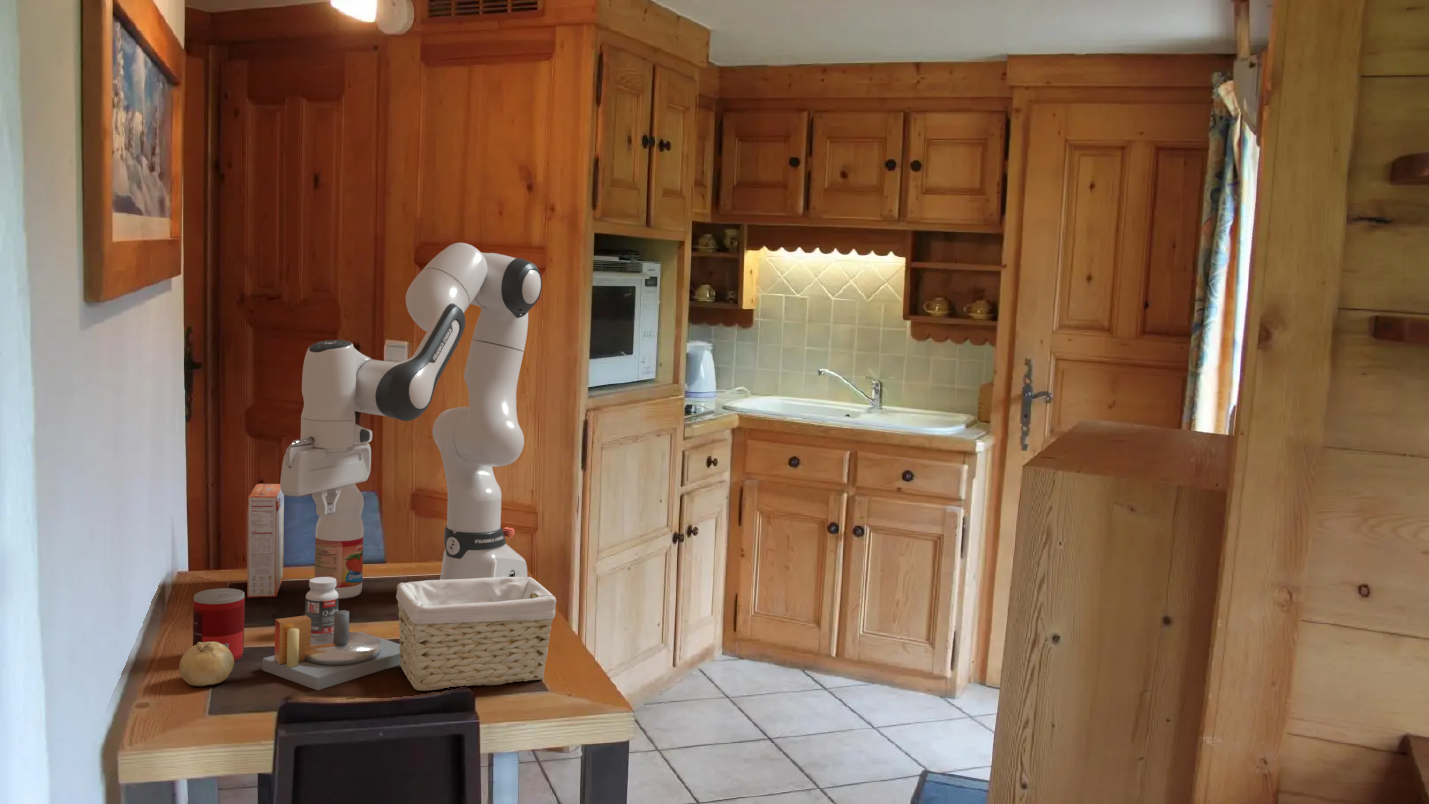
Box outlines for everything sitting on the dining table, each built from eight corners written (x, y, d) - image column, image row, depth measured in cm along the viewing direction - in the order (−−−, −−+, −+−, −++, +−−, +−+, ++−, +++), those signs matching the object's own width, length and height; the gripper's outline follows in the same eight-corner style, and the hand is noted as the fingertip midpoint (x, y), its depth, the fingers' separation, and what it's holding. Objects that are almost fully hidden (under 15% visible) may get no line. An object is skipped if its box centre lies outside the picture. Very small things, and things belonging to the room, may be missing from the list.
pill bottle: (326, 639, 203) (328, 585, 202) (298, 635, 204) (299, 581, 203) (343, 630, 208) (344, 577, 208) (315, 626, 210) (316, 574, 209)
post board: (360, 642, 202) (361, 593, 201) (414, 660, 194) (416, 608, 194) (262, 670, 185) (263, 616, 184) (317, 690, 178) (319, 634, 177)
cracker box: (253, 580, 238) (255, 482, 237) (283, 580, 240) (286, 483, 238) (244, 598, 225) (246, 495, 223) (276, 597, 227) (279, 495, 225)
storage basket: (527, 653, 202) (531, 572, 201) (556, 683, 188) (560, 596, 186) (391, 665, 191) (393, 580, 190) (410, 698, 177) (413, 606, 175)
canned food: (253, 655, 192) (255, 592, 191) (217, 668, 185) (218, 602, 184) (219, 647, 195) (220, 585, 194) (182, 660, 188) (183, 595, 187)
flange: (264, 650, 188) (265, 611, 188) (363, 636, 199) (364, 598, 198) (289, 673, 178) (290, 631, 177) (393, 657, 189) (394, 617, 188)
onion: (171, 680, 178) (171, 636, 178) (222, 670, 184) (222, 628, 183) (189, 695, 173) (190, 650, 172) (241, 684, 178) (242, 641, 178)
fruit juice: (317, 587, 236) (320, 455, 233) (363, 587, 238) (367, 456, 235) (310, 599, 227) (314, 462, 224) (359, 599, 229) (363, 463, 226)
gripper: (303, 443, 183) (301, 526, 184) (378, 431, 202) (375, 507, 203) (271, 439, 184) (269, 522, 186) (348, 427, 204) (346, 503, 205)
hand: (325, 514), depth 195 cm, fingers closed
